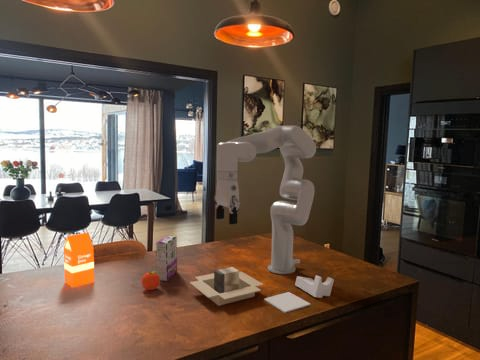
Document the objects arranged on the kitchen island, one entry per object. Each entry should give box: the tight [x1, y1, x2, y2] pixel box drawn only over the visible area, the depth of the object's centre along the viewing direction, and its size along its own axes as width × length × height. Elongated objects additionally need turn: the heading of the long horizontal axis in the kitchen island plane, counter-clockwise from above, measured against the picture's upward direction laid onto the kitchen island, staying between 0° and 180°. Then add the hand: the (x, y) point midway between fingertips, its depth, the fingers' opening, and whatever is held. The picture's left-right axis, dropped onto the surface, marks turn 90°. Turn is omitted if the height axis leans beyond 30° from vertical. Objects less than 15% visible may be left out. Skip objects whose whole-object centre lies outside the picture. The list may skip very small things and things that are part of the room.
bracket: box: [294, 275, 335, 299], centre depth 147 cm, size 13×7×8 cm, turn 27°
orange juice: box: [63, 232, 95, 289], centre depth 150 cm, size 8×9×20 cm
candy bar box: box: [155, 235, 178, 282], centre depth 158 cm, size 11×5×16 cm, turn 168°
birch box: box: [213, 266, 240, 294], centre depth 142 cm, size 8×5×9 cm, turn 122°
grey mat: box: [263, 291, 311, 314], centre depth 136 cm, size 12×12×1 cm
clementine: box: [141, 270, 161, 291], centre depth 145 cm, size 8×7×7 cm
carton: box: [189, 271, 264, 306], centre depth 143 cm, size 24×24×4 cm
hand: (226, 221), depth 140 cm, fingers open, 9 cm apart
